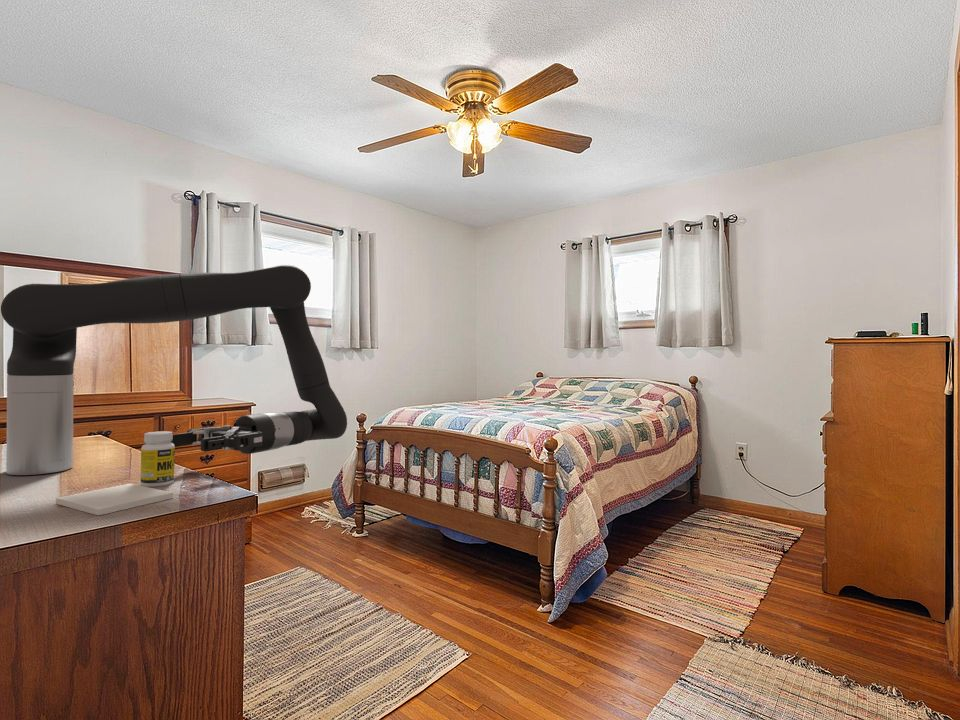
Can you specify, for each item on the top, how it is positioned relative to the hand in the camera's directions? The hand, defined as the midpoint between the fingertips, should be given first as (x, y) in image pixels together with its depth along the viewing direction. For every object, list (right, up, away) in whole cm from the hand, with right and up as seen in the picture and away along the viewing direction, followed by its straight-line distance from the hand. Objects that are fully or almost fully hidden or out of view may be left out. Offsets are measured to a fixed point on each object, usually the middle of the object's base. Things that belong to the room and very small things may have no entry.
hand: (186, 443), depth 91 cm
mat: (-2, -6, -15) cm, 16 cm away
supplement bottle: (-2, -6, -4) cm, 8 cm away
